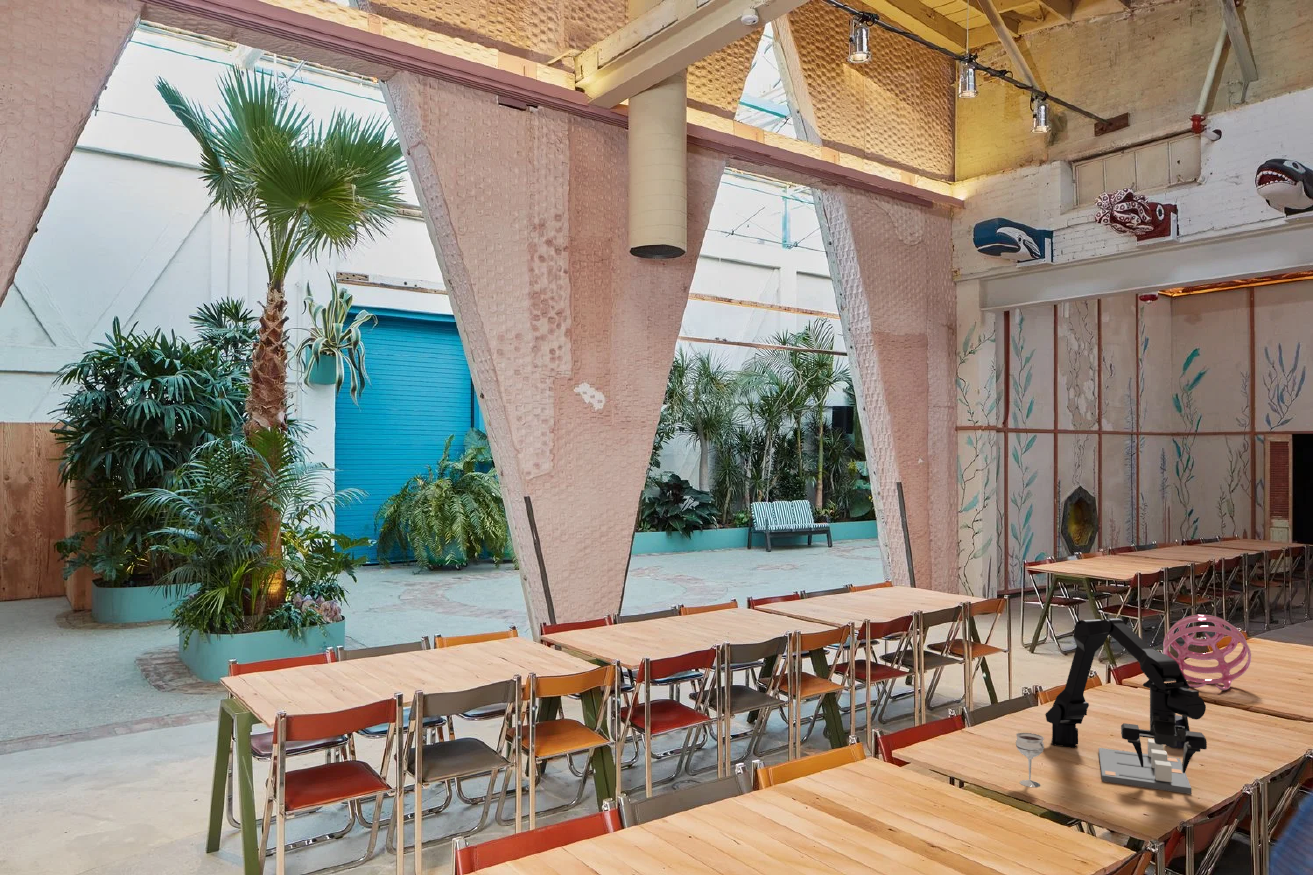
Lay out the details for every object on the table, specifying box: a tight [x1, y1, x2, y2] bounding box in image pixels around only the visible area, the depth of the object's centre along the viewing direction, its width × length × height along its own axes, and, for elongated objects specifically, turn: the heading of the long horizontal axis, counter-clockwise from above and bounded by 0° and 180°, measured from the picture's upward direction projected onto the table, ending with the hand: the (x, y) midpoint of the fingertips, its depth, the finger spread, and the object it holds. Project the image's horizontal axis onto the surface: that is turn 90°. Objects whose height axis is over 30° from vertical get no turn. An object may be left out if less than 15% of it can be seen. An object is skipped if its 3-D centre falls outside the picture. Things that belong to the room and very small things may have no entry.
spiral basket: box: [1162, 614, 1252, 692], centre depth 331 cm, size 28×28×27 cm
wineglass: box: [1015, 732, 1045, 788], centre depth 228 cm, size 7×7×12 cm
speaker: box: [1165, 714, 1191, 749], centre depth 259 cm, size 8×6×10 cm
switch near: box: [1155, 760, 1172, 782], centre depth 227 cm, size 4×4×4 cm
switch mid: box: [1151, 749, 1168, 768], centre depth 236 cm, size 4×4×4 cm
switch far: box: [1147, 738, 1164, 757], centre depth 245 cm, size 4×4×4 cm
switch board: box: [1098, 747, 1193, 795], centre depth 237 cm, size 20×25×2 cm
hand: (1162, 769), depth 227 cm, fingers open, 9 cm apart
